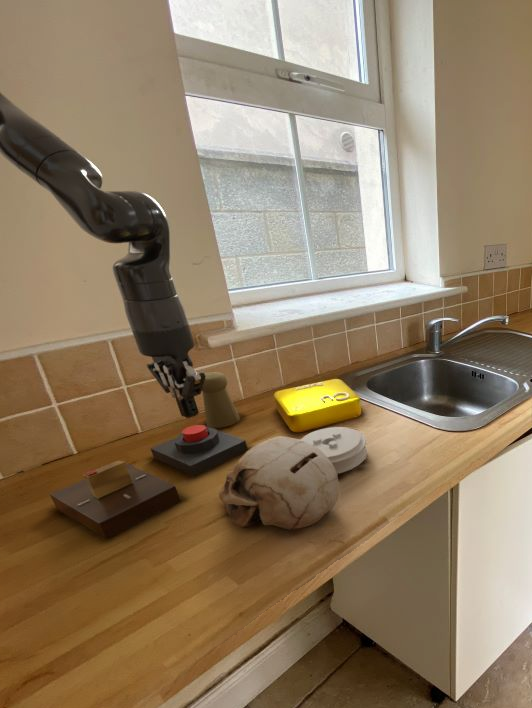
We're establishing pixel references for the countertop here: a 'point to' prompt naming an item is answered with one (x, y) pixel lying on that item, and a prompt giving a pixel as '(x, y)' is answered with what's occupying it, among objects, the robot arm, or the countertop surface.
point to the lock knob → (108, 479)
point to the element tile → (317, 405)
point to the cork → (218, 401)
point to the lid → (339, 446)
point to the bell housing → (199, 451)
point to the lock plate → (116, 503)
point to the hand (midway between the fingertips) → (190, 415)
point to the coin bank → (280, 485)
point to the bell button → (194, 433)
